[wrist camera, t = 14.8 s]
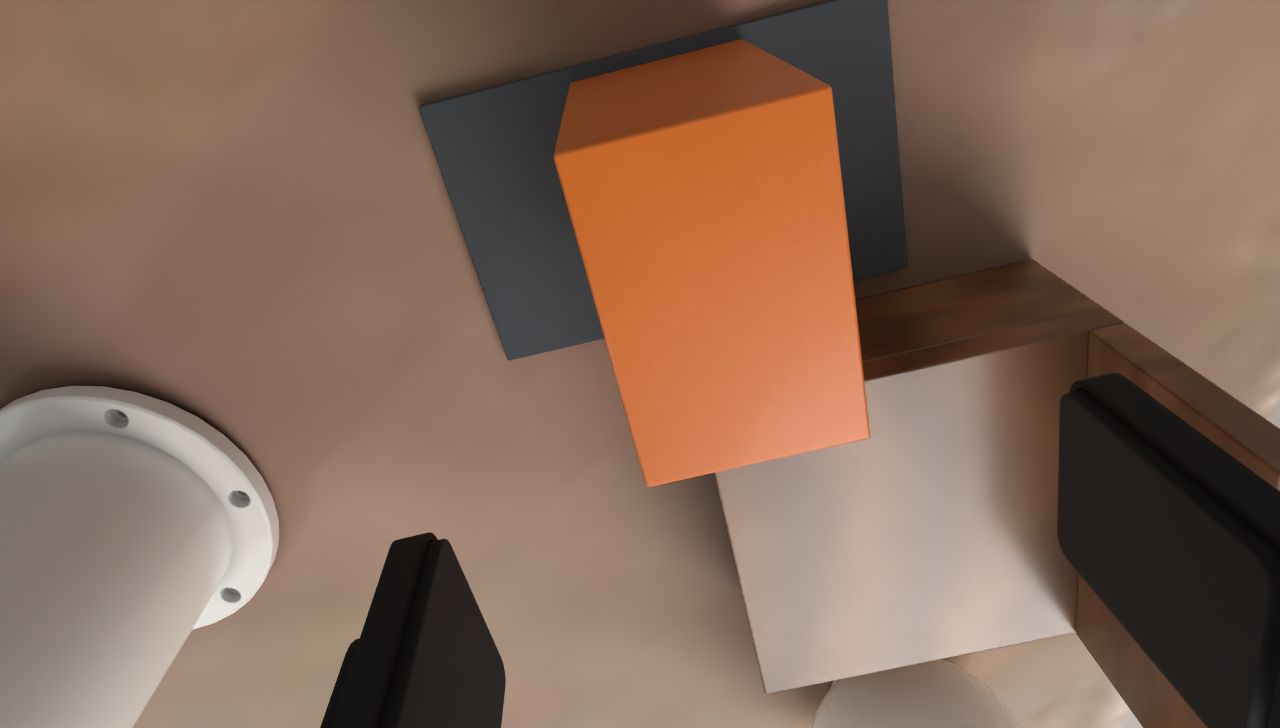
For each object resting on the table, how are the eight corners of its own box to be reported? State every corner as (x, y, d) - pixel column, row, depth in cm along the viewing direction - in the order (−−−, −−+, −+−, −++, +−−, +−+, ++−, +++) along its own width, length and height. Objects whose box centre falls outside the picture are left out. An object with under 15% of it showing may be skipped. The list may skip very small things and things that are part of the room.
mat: (508, 356, 31) (507, 361, 31) (420, 105, 27) (417, 106, 26) (904, 264, 30) (907, 268, 30) (882, -14, 26) (886, -13, 25)
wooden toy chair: (741, 591, 38) (812, 901, 25) (683, 339, 31) (740, 587, 19) (1031, 530, 37) (1252, 821, 24) (1033, 258, 30) (1334, 463, 18)
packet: (631, 319, 30) (646, 488, 21) (569, 82, 26) (552, 154, 16) (782, 283, 30) (871, 439, 20) (743, 38, 26) (832, 84, 16)
